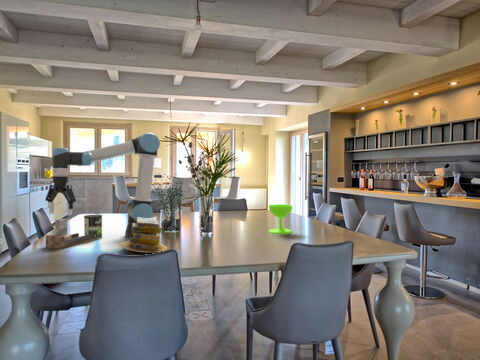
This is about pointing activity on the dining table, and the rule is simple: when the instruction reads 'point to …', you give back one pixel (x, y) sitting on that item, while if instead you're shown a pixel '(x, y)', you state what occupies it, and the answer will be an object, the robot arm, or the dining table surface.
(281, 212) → the wineglass
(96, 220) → the coffee can
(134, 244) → the stacked food plate
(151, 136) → the robot arm
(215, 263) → the dining table surface
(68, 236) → the press ram
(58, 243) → the press bed
